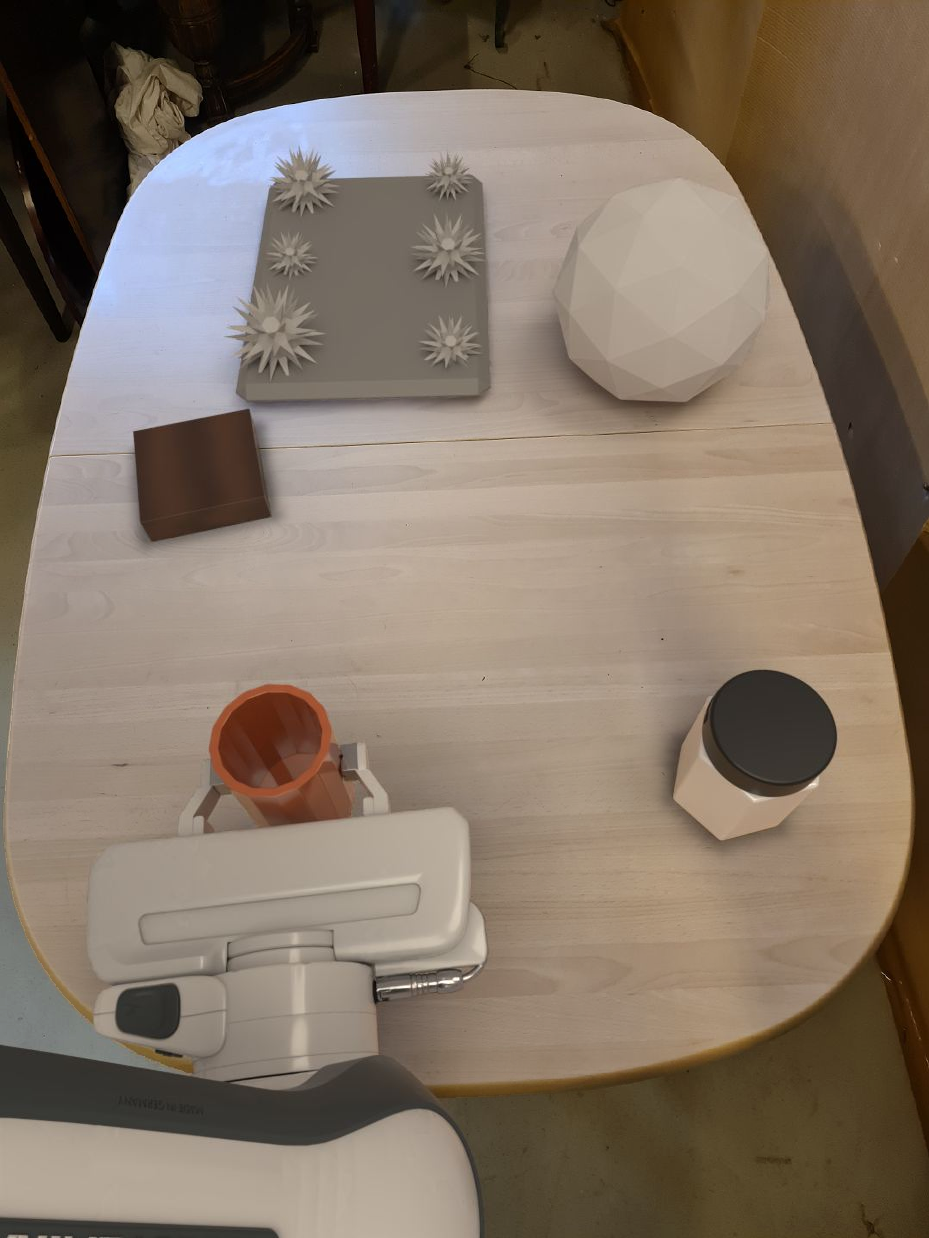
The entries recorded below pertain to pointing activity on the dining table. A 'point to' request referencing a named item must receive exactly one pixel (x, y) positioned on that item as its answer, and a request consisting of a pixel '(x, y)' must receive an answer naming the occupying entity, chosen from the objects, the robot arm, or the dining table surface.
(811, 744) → the jar
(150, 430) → the stand
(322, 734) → the pot
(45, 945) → the dining table surface
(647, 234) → the sphere
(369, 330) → the decorative tray
